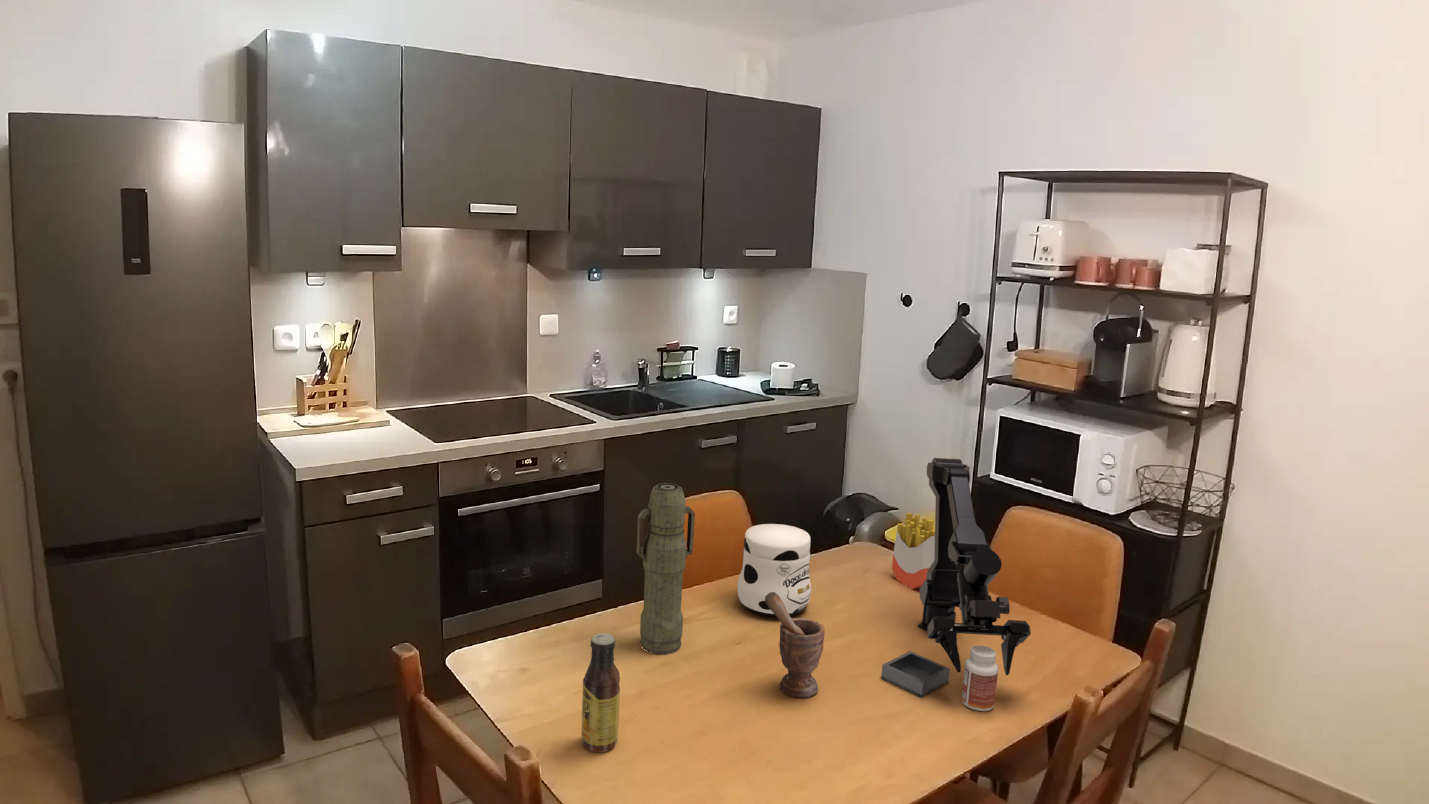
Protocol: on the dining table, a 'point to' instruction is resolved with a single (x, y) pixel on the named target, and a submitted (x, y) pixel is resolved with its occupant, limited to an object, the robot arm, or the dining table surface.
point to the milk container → (775, 568)
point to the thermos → (664, 567)
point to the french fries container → (913, 550)
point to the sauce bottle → (601, 696)
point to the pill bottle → (980, 679)
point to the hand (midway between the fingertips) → (983, 673)
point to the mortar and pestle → (797, 649)
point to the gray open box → (915, 674)
